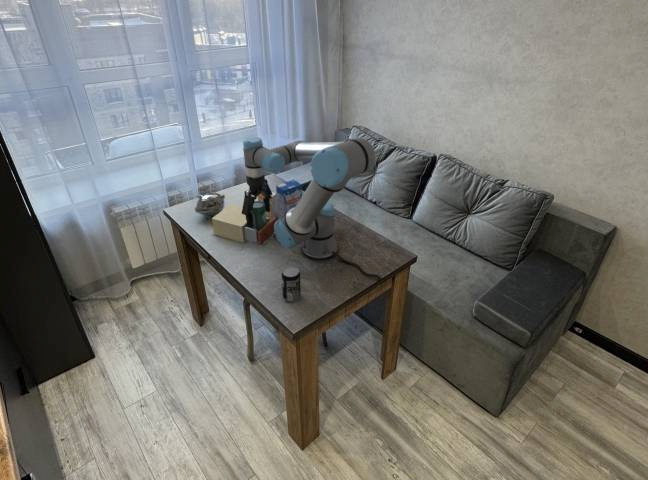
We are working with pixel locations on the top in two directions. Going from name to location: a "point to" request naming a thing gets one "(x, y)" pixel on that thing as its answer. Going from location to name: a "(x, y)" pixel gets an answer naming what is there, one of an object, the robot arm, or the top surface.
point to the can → (258, 215)
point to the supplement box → (271, 205)
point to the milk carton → (287, 197)
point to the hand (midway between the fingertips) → (258, 218)
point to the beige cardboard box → (230, 223)
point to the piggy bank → (210, 204)
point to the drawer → (260, 232)
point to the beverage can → (291, 283)
